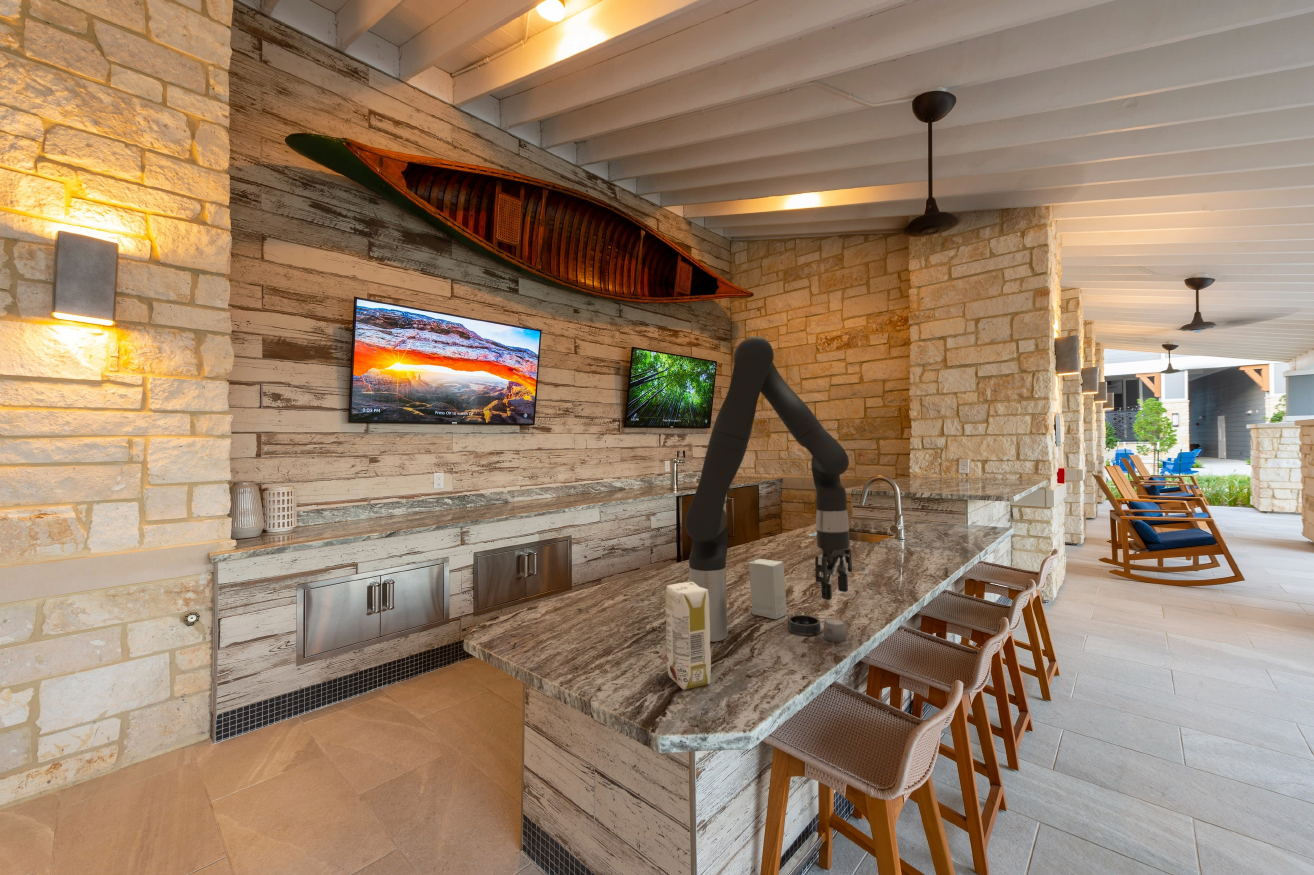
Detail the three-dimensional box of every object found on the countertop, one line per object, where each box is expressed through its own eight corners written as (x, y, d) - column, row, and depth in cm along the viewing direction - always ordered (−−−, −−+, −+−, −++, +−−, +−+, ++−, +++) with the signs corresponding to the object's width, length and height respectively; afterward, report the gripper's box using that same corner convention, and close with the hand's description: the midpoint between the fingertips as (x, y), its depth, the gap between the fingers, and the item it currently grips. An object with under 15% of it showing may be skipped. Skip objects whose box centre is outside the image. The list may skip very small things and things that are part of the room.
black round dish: (796, 637, 129) (795, 626, 129) (783, 626, 136) (783, 616, 136) (825, 634, 130) (825, 624, 130) (812, 624, 138) (811, 614, 138)
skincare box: (787, 615, 145) (786, 561, 145) (775, 620, 141) (773, 565, 141) (762, 609, 151) (760, 557, 151) (749, 614, 147) (748, 560, 147)
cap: (840, 644, 124) (839, 627, 124) (819, 639, 127) (819, 622, 127) (850, 638, 128) (850, 621, 128) (830, 633, 131) (829, 616, 131)
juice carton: (681, 693, 101) (679, 594, 102) (663, 675, 109) (661, 584, 109) (715, 685, 104) (713, 589, 105) (695, 668, 112) (693, 579, 112)
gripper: (833, 534, 120) (836, 605, 120) (860, 525, 130) (863, 591, 130) (803, 531, 125) (806, 599, 125) (831, 523, 135) (834, 586, 135)
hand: (835, 595), depth 127 cm, fingers open, 8 cm apart
